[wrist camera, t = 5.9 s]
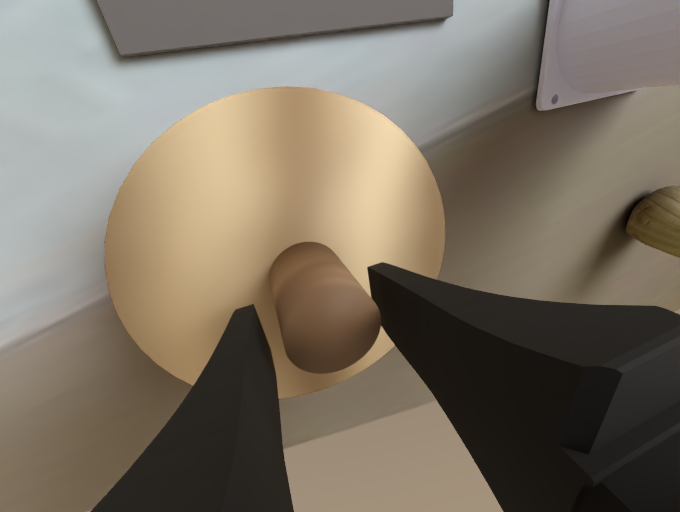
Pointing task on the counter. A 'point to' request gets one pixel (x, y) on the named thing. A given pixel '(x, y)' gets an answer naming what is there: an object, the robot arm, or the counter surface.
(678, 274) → the counter surface
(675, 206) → the fennel bulb
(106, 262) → the lid
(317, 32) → the mat
